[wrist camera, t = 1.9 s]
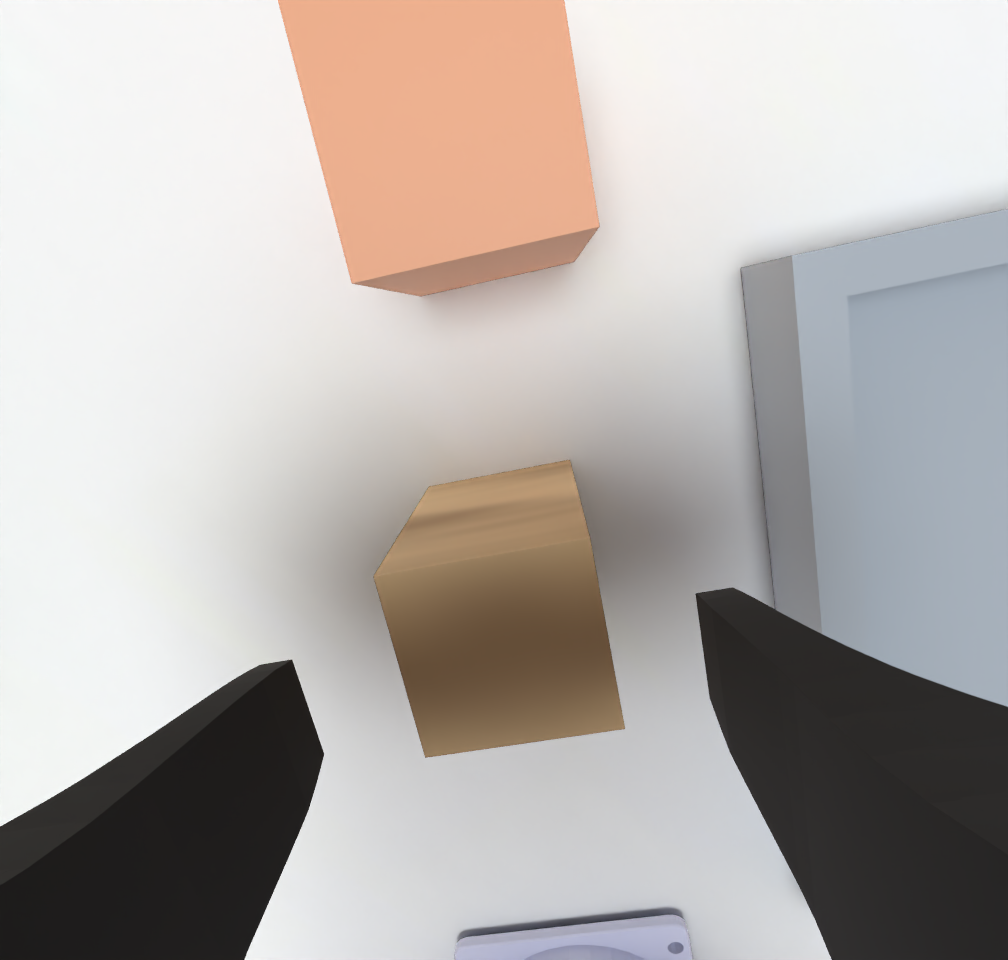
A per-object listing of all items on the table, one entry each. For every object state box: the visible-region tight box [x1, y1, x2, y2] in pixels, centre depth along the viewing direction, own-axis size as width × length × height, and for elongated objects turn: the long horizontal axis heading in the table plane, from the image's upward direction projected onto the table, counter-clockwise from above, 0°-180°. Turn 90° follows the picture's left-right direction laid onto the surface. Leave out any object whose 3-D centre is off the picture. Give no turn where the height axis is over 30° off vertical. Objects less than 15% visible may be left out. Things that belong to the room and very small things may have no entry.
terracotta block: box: [278, 0, 599, 296], centre depth 12 cm, size 4×4×6 cm
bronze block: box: [373, 460, 625, 758], centre depth 14 cm, size 4×4×6 cm
